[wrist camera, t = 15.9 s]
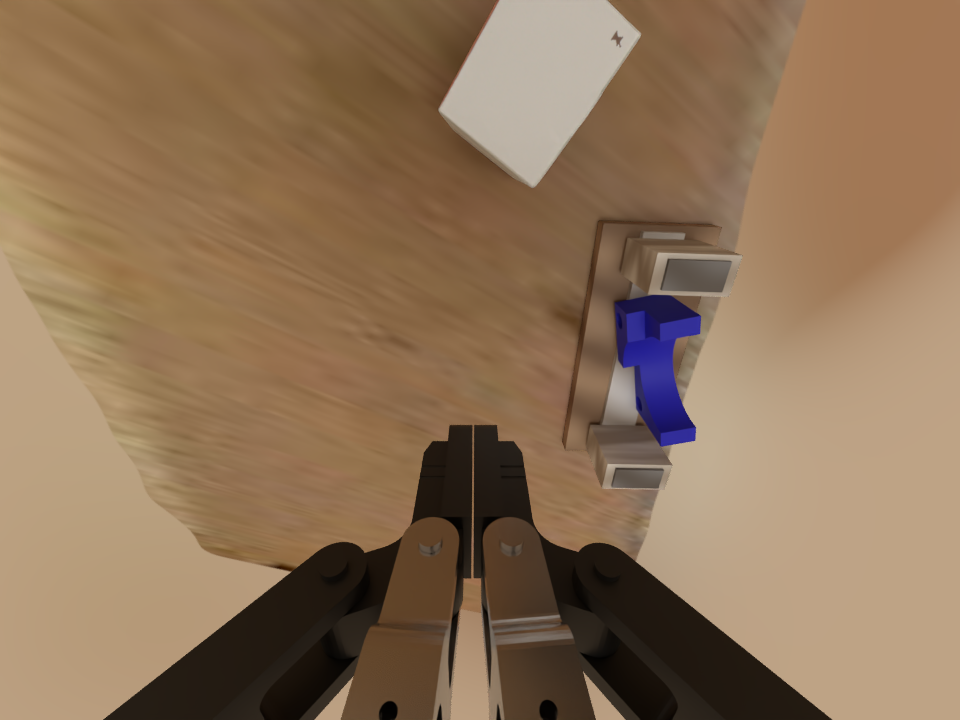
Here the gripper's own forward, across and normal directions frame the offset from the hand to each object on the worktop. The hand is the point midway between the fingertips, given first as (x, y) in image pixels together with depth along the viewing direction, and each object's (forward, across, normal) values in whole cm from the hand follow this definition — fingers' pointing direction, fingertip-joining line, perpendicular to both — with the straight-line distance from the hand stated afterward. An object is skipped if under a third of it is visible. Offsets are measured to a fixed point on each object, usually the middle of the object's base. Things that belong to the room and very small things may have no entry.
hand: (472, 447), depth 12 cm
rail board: (+25, -16, +9) cm, 31 cm away
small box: (+26, -3, -12) cm, 29 cm away
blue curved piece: (+24, -16, +8) cm, 30 cm away
